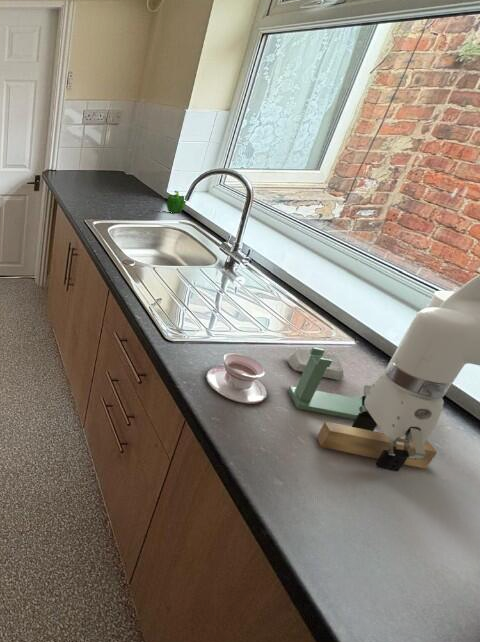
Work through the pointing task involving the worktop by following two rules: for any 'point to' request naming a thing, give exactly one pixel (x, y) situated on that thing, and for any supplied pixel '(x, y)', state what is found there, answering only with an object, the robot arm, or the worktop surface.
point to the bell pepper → (175, 203)
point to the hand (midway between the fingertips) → (373, 448)
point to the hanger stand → (318, 400)
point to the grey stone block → (302, 356)
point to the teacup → (238, 379)
